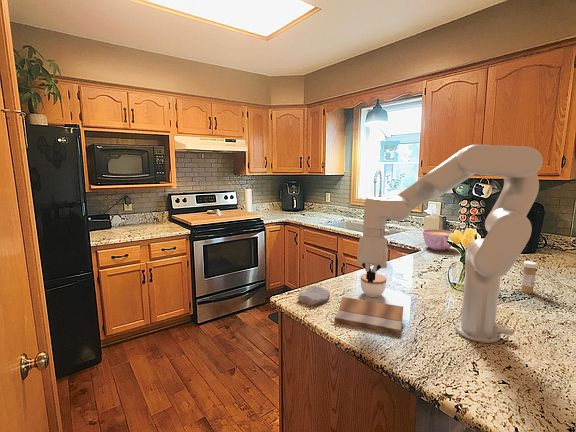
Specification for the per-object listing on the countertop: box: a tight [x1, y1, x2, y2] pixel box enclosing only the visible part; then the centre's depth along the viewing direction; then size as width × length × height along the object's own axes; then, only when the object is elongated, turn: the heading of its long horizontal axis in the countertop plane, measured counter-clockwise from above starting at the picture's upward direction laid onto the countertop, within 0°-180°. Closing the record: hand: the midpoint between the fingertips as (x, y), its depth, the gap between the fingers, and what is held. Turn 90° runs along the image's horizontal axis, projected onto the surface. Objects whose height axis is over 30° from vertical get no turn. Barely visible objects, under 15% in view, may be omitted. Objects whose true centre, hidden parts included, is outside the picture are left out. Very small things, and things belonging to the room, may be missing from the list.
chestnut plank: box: [338, 296, 404, 323], centre depth 113 cm, size 22×6×2 cm, turn 67°
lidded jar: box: [360, 273, 387, 298], centre depth 132 cm, size 11×11×9 cm
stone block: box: [297, 285, 331, 306], centre depth 128 cm, size 12×5×10 cm
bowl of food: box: [422, 228, 453, 252], centre depth 207 cm, size 20×20×12 cm
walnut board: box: [333, 309, 403, 336], centre depth 107 cm, size 22×6×2 cm, turn 67°
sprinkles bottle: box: [520, 260, 538, 295], centre depth 135 cm, size 5×5×14 cm
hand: (370, 281), depth 112 cm, fingers closed
